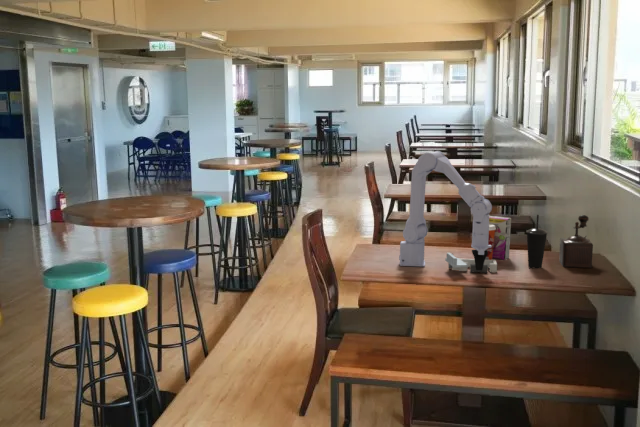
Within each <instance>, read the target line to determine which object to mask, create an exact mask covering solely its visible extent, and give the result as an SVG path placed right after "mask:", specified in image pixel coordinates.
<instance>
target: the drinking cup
mask: <svg viewBox="0 0 640 427" xmlns="http://www.w3.org/2000/svg"><path fill="white" fill-rule="evenodd" d="M539 217H540V216H539V214H536V226H535V227H533V228H530V229H528V230H527V229H526V232H525V233H526V240H527V242H526V244H527V261H528V262H527V263H528V264H527V265H528V268H530V269H542V268H543V262H544V261H543V260H544V255H545V248H546V241H547V235H548V231H547V230H545V229H542V228H539Z"/></svg>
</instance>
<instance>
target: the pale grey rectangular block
mask: <svg viewBox="0 0 640 427" xmlns="http://www.w3.org/2000/svg"><path fill="white" fill-rule="evenodd" d="M450 253H451V254H452V255H454V254H453V253H452V252H450ZM459 259H460V260H462V261H463V262H464V263H466V264H467V267H452V266H451V265H450V264H449V263H448V265H447V266H448V269H449V268H452V269H451V271H452V270H459V271H458V272H468V268H470V264H475V259H474V258H459ZM496 260H497V259H492V260H489V257H486V258H485V261H484V265H487V266H488V269H489V271H490V272H489V273H497V272H498V271H497V270H498V263H497V261H496ZM489 267H490V268H489Z"/></svg>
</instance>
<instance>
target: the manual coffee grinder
mask: <svg viewBox="0 0 640 427" xmlns="http://www.w3.org/2000/svg"><path fill="white" fill-rule="evenodd" d="M577 220H578V221H576V222H575V224H574V226H572V227H573V228H572V229H574V230H575V233H574V235H571V236H569V237H567V238H566V237H560V239H559V259H558V260H559V263H560V265H561V266H562V267H563V268H573V269H574V268H575V269H576V268H577V269H579V268H580V269H593V264H592V263H593V251H594V244H593V243H592V242H591V241H590V239H589V238H587V235H585V236H582V235H580V234H579V229H584V228H587V227H588V225H587V223H588V222H589V221H590V218H589V216H588V215H586V214H580V215H578V217H577Z"/></svg>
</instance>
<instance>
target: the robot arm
mask: <svg viewBox="0 0 640 427" xmlns="http://www.w3.org/2000/svg"><path fill="white" fill-rule="evenodd" d="M433 171H434V172H437V173H442V174H444V175H445V176H446V178H448V179H449V180H450V181H451V182H452V184H453V185H454V186H455V187H456V188H457V189H458V196H460V197H461V198H462V199H463V201H464V202H465V203H466V204H467V206H468V207H469V208H470V212H471V215H472V236H471V246H470V247H471V248H472V249H471V254H472V256H473V259H475V267H476V270H482V269H483V265H484V261H485V258H486V256H487V255H488V250H486V249H488V248H491V247H492V246H491V245H488V238H489V216H490V213H491V212H492V209H493V205H492V203H491V201H490V200H489V199H488V198H485V196H484V195H482V194H480V192H479V191H478V190H477V186H476V185H475V184H473V183H471V182H470V183H469V182H466V181H465V180H464V179H463V177H462V176H461V175H460V173H459V172H458V171H457V169H456V168H455V167H454V165H453V164H452V163H451V161H450V160H449V158H448V157H447V156H445V153H443V152H442V151H440V150H435V151H431V152H425V153H424V152H423V154H421V155H420V156H419V157H418V159H417V161H416V164H414V166H413V168H412V171H411V181H410V182H411V183H410V199H409V201H410V202H409V215H408V216H409V217H408V218H407V220H406V222H405V226H404V228H403V230H402V236H403V239H404V240H403V241H402V240H401V241H400V244H399V257H398V260H399V266H400V267H401V266H402V267H403V266H405V267H421V268H422V267H424V268H425V266H426V260H425V238H426V237H427V235H428V231H429V230H428V226H427V223H426V222H427V221H426V218H425V217H424V216H425V215H424V214H425V199H426V185H427V176H428V175H429V174H430V173H431V172H433Z"/></svg>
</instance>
